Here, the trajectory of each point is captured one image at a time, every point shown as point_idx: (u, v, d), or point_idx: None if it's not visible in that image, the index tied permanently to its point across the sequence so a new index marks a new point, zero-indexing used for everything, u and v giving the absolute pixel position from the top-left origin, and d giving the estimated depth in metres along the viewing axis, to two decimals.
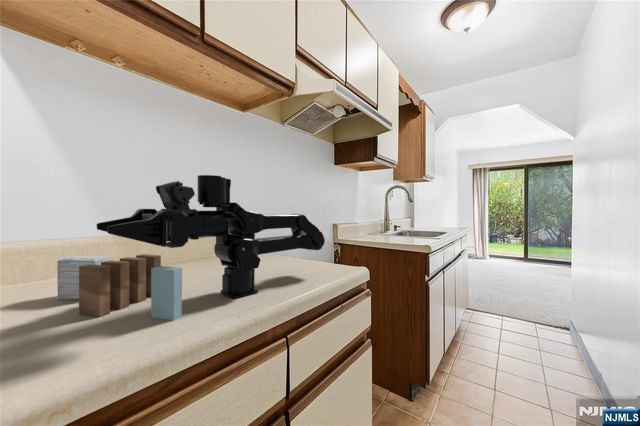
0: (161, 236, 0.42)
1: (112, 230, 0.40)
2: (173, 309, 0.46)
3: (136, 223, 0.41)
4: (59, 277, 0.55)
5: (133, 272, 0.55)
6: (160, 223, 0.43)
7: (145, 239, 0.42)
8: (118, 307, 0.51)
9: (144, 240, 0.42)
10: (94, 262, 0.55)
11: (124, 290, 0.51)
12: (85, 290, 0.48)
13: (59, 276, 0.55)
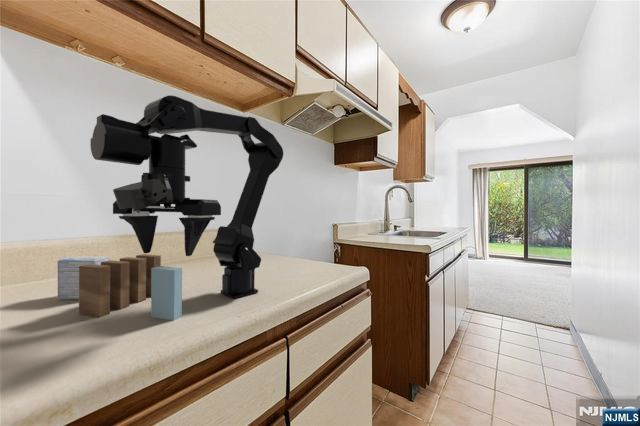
0: (206, 219, 0.47)
1: (190, 252, 0.47)
2: (173, 309, 0.46)
3: (190, 237, 0.45)
4: (59, 277, 0.55)
5: (133, 272, 0.55)
6: None
7: (202, 230, 0.48)
8: (118, 307, 0.51)
9: (203, 230, 0.48)
10: (94, 262, 0.55)
11: (124, 290, 0.51)
12: (85, 290, 0.48)
13: (59, 276, 0.55)
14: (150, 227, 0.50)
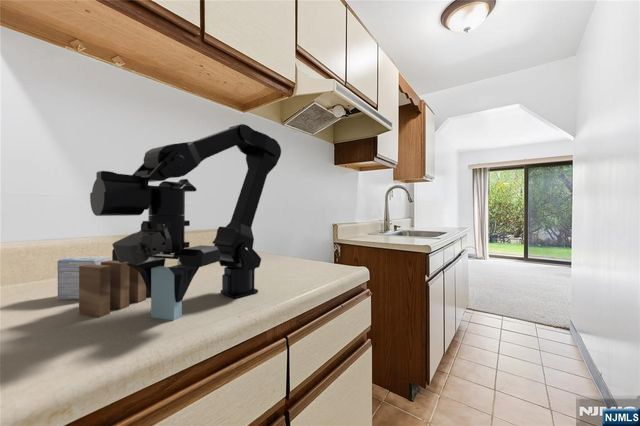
0: None
1: (180, 298, 0.47)
2: (173, 309, 0.46)
3: (180, 284, 0.46)
4: (59, 277, 0.55)
5: (133, 272, 0.55)
6: None
7: (193, 275, 0.48)
8: (118, 307, 0.51)
9: (193, 275, 0.48)
10: (94, 262, 0.55)
11: (124, 290, 0.51)
12: (85, 290, 0.48)
13: (59, 276, 0.55)
14: None
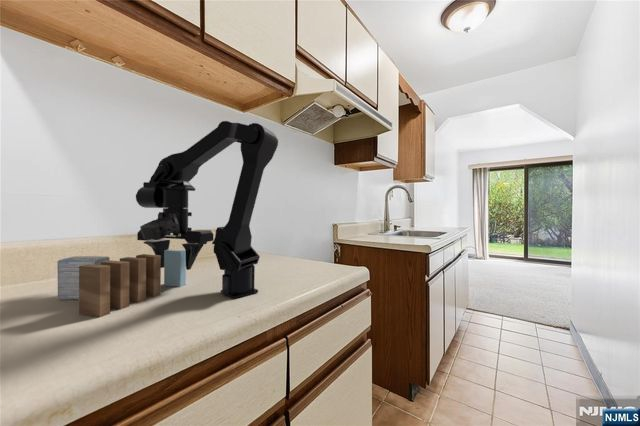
0: None
1: (189, 267, 0.66)
2: (180, 279, 0.66)
3: (190, 257, 0.65)
4: (59, 277, 0.55)
5: (133, 272, 0.55)
6: None
7: (198, 251, 0.68)
8: (118, 307, 0.51)
9: (198, 251, 0.68)
10: (94, 262, 0.55)
11: (124, 290, 0.51)
12: (85, 290, 0.48)
13: (59, 276, 0.55)
14: (165, 248, 0.69)
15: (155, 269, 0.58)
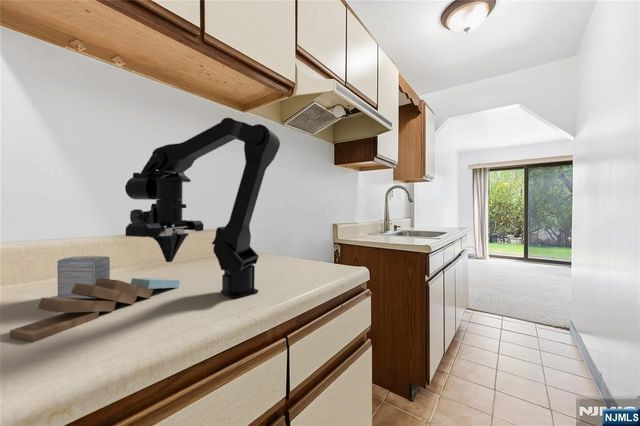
0: (163, 237, 0.62)
1: (167, 260, 0.65)
2: (172, 287, 0.63)
3: (161, 249, 0.64)
4: (59, 277, 0.55)
5: (100, 298, 0.48)
6: None
7: (169, 245, 0.63)
8: (109, 310, 0.49)
9: (169, 245, 0.63)
10: (94, 262, 0.55)
11: (96, 306, 0.47)
12: None
13: (59, 276, 0.55)
14: (175, 243, 0.66)
15: (127, 290, 0.52)
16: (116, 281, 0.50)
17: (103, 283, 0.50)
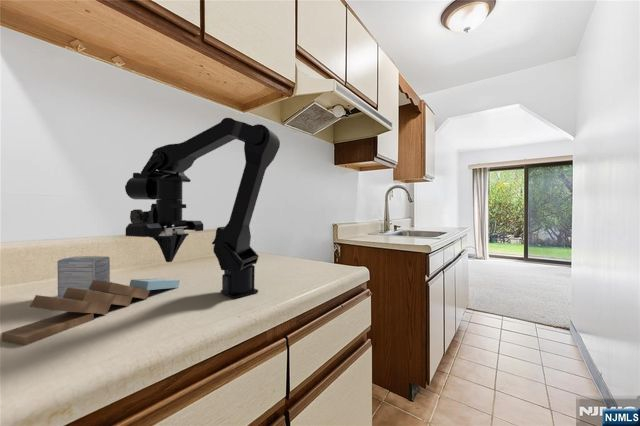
0: (163, 237, 0.62)
1: (167, 260, 0.65)
2: (171, 287, 0.63)
3: (161, 249, 0.64)
4: (59, 277, 0.55)
5: None
6: None
7: (169, 245, 0.63)
8: (103, 313, 0.48)
9: (169, 245, 0.63)
10: (94, 262, 0.55)
11: (89, 307, 0.45)
12: None
13: (59, 276, 0.55)
14: (175, 243, 0.66)
15: (122, 292, 0.51)
16: (111, 283, 0.49)
17: (98, 285, 0.50)
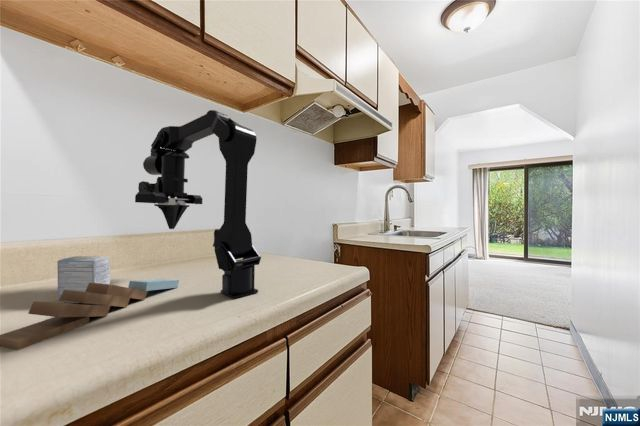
0: (167, 206, 0.71)
1: (170, 227, 0.74)
2: (171, 287, 0.63)
3: (165, 217, 0.73)
4: (59, 277, 0.55)
5: None
6: (162, 206, 0.72)
7: (172, 213, 0.72)
8: None
9: (172, 214, 0.72)
10: (94, 262, 0.55)
11: (91, 311, 0.45)
12: None
13: (59, 276, 0.55)
14: (177, 212, 0.75)
15: (120, 294, 0.51)
16: (108, 285, 0.49)
17: (95, 288, 0.49)
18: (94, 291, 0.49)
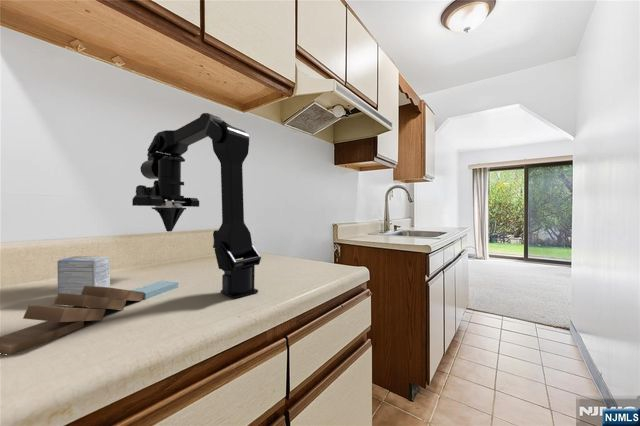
0: (164, 209, 0.72)
1: (168, 229, 0.75)
2: None
3: (162, 219, 0.74)
4: (59, 277, 0.55)
5: None
6: (159, 209, 0.73)
7: (169, 216, 0.73)
8: (97, 319, 0.45)
9: (169, 216, 0.73)
10: (94, 262, 0.55)
11: (89, 315, 0.43)
12: None
13: (59, 276, 0.55)
14: None
15: (118, 296, 0.50)
16: (106, 288, 0.48)
17: (91, 291, 0.48)
18: (91, 294, 0.48)
